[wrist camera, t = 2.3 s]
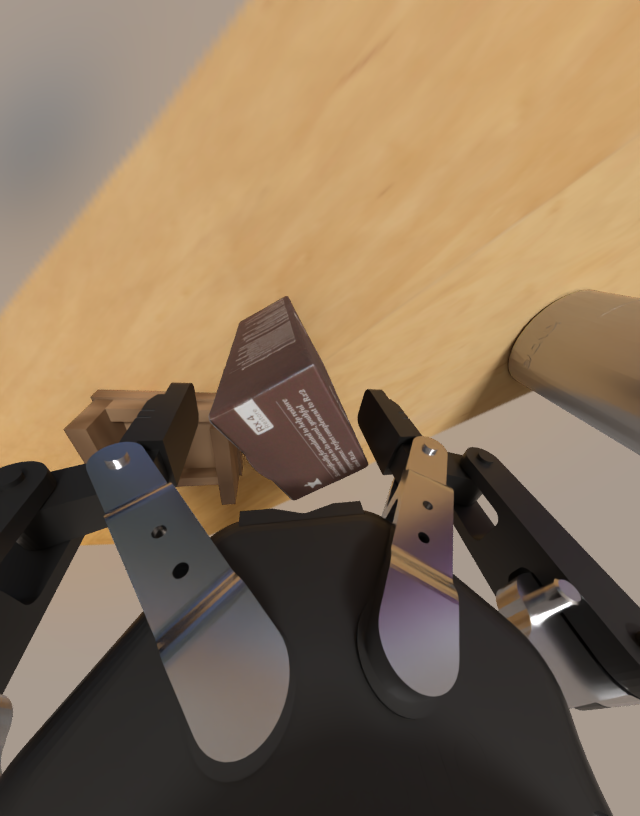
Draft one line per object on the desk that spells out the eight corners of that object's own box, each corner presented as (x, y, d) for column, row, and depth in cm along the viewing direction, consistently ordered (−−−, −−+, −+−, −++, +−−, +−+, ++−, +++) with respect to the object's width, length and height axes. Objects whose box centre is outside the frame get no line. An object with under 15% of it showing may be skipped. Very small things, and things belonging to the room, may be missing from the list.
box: (325, 358, 20) (373, 470, 11) (278, 381, 21) (286, 507, 11) (290, 288, 17) (316, 363, 7) (236, 319, 17) (193, 426, 8)
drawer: (237, 393, 21) (226, 446, 16) (242, 468, 27) (235, 525, 21) (98, 389, 19) (32, 450, 14) (135, 471, 24) (99, 536, 19)
